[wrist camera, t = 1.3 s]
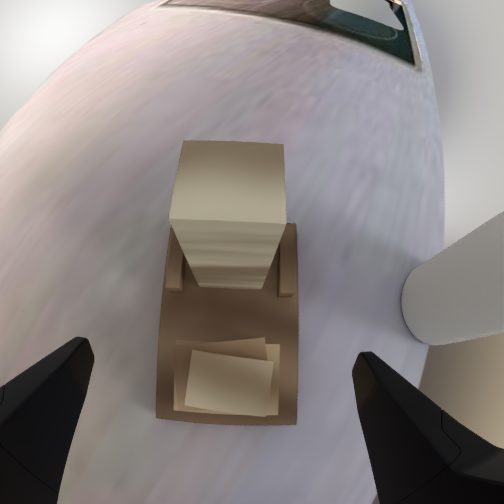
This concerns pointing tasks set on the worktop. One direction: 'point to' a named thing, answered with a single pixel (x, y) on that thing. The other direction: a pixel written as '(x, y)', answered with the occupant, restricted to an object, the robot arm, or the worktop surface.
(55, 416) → the robot arm
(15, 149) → the worktop surface
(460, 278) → the milk bottle
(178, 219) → the beige rectangular block
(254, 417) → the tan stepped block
